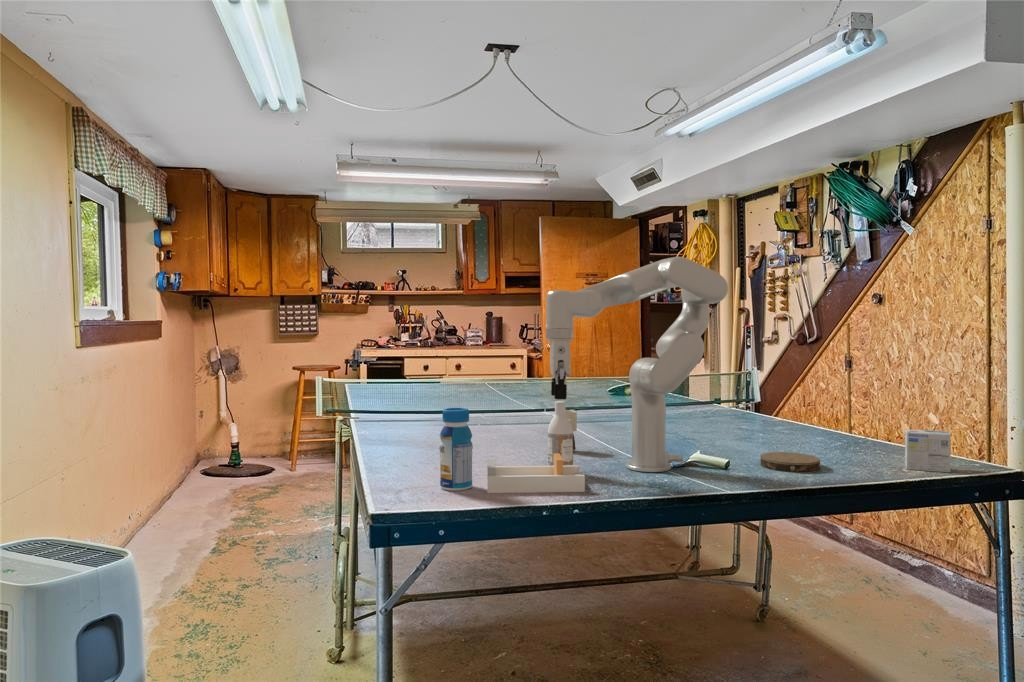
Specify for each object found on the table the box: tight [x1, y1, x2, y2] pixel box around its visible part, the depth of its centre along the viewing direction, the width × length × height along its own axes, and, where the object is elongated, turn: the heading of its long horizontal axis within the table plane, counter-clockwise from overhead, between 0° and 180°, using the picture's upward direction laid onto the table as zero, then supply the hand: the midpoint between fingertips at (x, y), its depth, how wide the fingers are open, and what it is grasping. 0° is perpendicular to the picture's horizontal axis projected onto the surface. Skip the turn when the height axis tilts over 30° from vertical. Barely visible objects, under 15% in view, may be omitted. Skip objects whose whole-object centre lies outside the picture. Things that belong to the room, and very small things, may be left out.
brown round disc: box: [760, 451, 821, 474], centre depth 191 cm, size 16×16×3 cm
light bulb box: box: [904, 428, 952, 473], centre depth 187 cm, size 11×7×11 cm, turn 65°
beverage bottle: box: [438, 407, 474, 492], centre depth 168 cm, size 8×8×20 cm
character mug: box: [566, 409, 578, 451], centre depth 215 cm, size 11×7×13 cm, turn 11°
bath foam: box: [547, 400, 574, 466], centre depth 183 cm, size 7×7×20 cm
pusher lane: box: [486, 459, 586, 494], centre depth 169 cm, size 24×12×6 cm, turn 92°
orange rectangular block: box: [553, 453, 563, 475], centre depth 169 cm, size 2×9×6 cm, turn 2°
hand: (558, 397), depth 182 cm, fingers open, 9 cm apart
